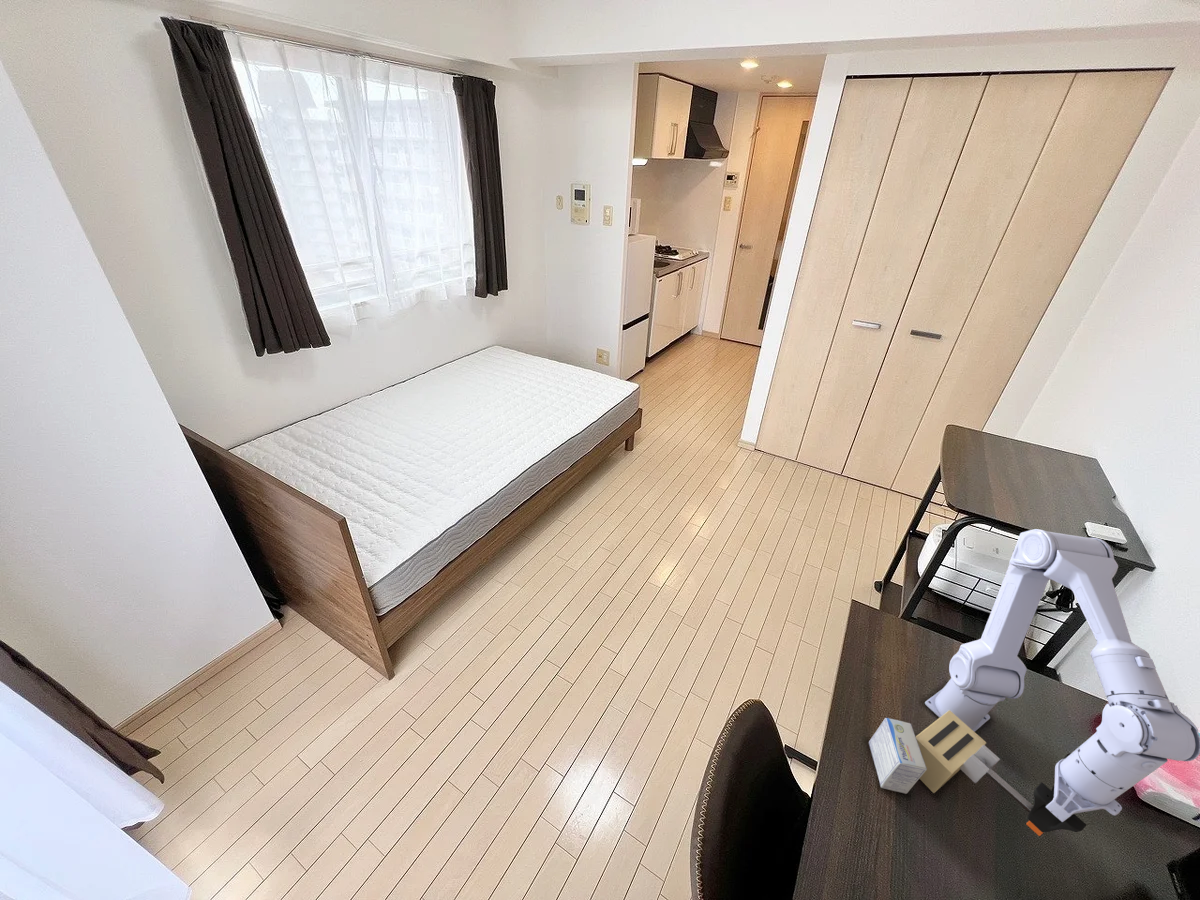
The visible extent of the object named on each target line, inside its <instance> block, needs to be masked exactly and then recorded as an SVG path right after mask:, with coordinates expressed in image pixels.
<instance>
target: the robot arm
mask: <svg viewBox="0 0 1200 900" xmlns="http://www.w3.org/2000/svg"><path fill="white" fill-rule="evenodd" d="M1118 568H1119V564H1118V563H1117V561H1116V560H1115V555H1114V552H1113V549H1112V547H1111V546H1110V544H1109V543H1107V542H1106V540H1104V539H1101V538H1098V537H1086V536H1080V535H1074V534H1067V533H1060V532H1054V531H1048V530H1044V529H1040V528H1034V529H1029V530H1026V531H1022V532H1020V533H1019V536H1018V539H1017V541H1016V544H1015V546H1014V549H1013V552H1012V553H1011V557H1010V559H1009V564H1008V567H1007V569H1006V572H1005V575H1004V577H1003V579H1002V582H1001V585H1000V588H999V590H998V593H997V595H996V598H995V601H994V603H993V606H992V608H991V611H990V613H989V616H988V618H987V621H986V624H985V626H984V630H983V631H982V633H981V637H980V638H978V639H976V640H972V641H969V642H966V643H962V644H961V645H960V646H959V648H958V651H957V652H956V653H954V655H952V657H951V659H950V661H949V665H948V666H949V667H948V671H949V676H950V679H949V680H948V682H947V683H946V684H945V685H944V686H943V688H942V689H940V690H939V691H938V692H936V693H934V695H933V696H931V697H930V698H928V699H927V700H925V702H924V704H925V705H924V706H926V707H927V708H928V709H929V710H930V711H931V712H933V713H934V714H935V715H936V716H937V717H938V718H940V717H941V716H942V715H944V714H945V713H946V712H947V711H949V710H950V711H951V712H952V713H953V714H955V715H956V716H957V717H958V718H959V719H960V720H961V721H963V722H964V723H965V724H966V725H967V726H968V727H969V728H970V729H972V730H973V731H974V732H975V733H976V731H977V730H978V729H980V728H981V727H982V726H983V725H984V724H985V723H987V722H988V721H989V720H990V719H991V716H990V715H989V712H990V711H991V710H992V709H993V708H994V707H995V706H996V705H997V704H998V703H999V702H1004V701H1005V700H1006V699H1011V700H1016V699H1017V700H1018V699H1019V698H1020V697H1021V696H1022V695H1023V692H1024V691H1025V675H1026V673H1027V671H1028V668H1027V666H1026V665H1025V664H1024V662H1023V660H1021V658H1020V657H1019V656H1018V655H1019V653H1020V650H1021V648H1022V645H1023V643H1024V641H1025V638H1026V636H1027V633H1028V631H1029V628H1030V626H1031V624H1032V621H1033V619H1034V616H1035V614H1036V612H1037V609H1038V606H1039V604H1040V602H1041V600H1042V597H1043V594H1044V592H1045V589H1046V587H1047V585H1048V582H1049V581H1050V580H1051V581H1054V582H1055V583H1058V584H1059V585H1061V586H1063V587H1065V588H1067V589H1069V590H1071V591H1072V593H1073V595H1074V597H1075V599H1076V601H1077V603H1078V606H1079V607H1080V610H1081V611H1082V614H1083V616H1084V618H1085V620H1086V621H1087V624H1088V626H1089V628H1090V630H1091V632H1092V635H1093V636H1094V638H1095V640H1096V644H1095V646H1094V647H1093V648H1092V650H1091V651H1090V656H1091V660H1092V661H1093V662H1092V663H1093V665H1094V667H1095V670H1096V673H1097V675H1098V679H1099V681H1100V683H1101V687H1102V689H1103V692H1104V694H1105V697H1106V700H1107V703H1106V704H1105V706H1103V707H1104V708H1103V710H1102V713H1101V722H1100V724H1099V725H1098V726H1097V727H1096V728H1095V730H1096V732H1095V733H1094V734H1092V735H1091V736H1090V737H1089V738H1088V739H1087V740H1086V741H1084V742H1082V744H1080V745H1079V746H1078V747H1077V748H1075V750H1073V751H1072V752H1071V753H1069V752H1068V753H1067V754H1066V755H1065V756H1064V757H1063V758H1062V759H1060V760H1058V761H1057V762H1056V763H1055V766H1054V783H1053V786H1052V788H1049V787H1048V786H1047V785H1046V784H1044V783H1043V782H1042V781H1041V782H1040V783H1039V784H1038V785H1037V786H1036V787H1035V788H1034V790H1033V794H1032V796H1033V798H1034V799H1033V804H1032V805H1033V807H1032V809H1031V811H1030V812H1028V815H1027V820H1028V821H1030V822H1032V823H1033V824H1034V825H1035V826H1036V827H1037V828H1038V829H1039V830H1040V831H1041V832H1044V833H1051V832H1054V831H1055V832H1056V831H1059V830H1060V831H1061V830H1065V831H1070V832H1072V833H1073V832H1074V833H1079V832H1082V831H1083V830H1084V829H1085V827H1086V826H1087V823H1085V821H1083V820H1082V819H1081V818H1080V817H1078V816H1077V815H1076V814H1081V813H1084V812H1085V813H1086V812H1092V811H1098V810H1105V811H1106V812H1108V813H1109V814H1110V815H1112V816H1117V815H1118V814H1120V812H1121V811H1122V810H1123V807H1122V805H1121V804H1120V803H1119V801H1117V800H1116V799H1117V798H1118V797H1120V796H1121V795H1123V794H1124V793H1125V792H1127V791H1128V790H1129V789H1131V788H1132V787H1134V786H1136V785H1137V784H1138V783H1140V782H1141V781H1142V780H1144V779H1145V778H1147V777H1148V776H1149V775H1151V774H1152V773H1153V772H1155V771H1156V770H1158V769H1159V768H1161V767H1162V766H1164V765H1165V764H1166V763H1168V761H1169V760H1173V761H1177V762H1191V761H1194V760H1196V759H1197V758H1198V757H1199V756H1200V736H1199V733H1200V732H1199V729H1198V727H1197V726H1196V725H1195V723H1194V722H1193V721H1192V719H1190V718H1189V717H1188V716H1186V715H1185V714H1184V713H1182V712H1181V710H1180V709H1179V707H1178V705H1175V702H1171V701H1170V699H1169V697H1168V694H1167V692H1166V689H1165V688H1164V685H1163V683H1162V681H1161V678H1160V676H1159V674H1158V671H1157V670H1156V668H1157V667H1156V665H1155V663H1154V661H1153V659H1152V657H1151V656H1150V653H1149V652H1148V651H1147V650H1145V649H1143V648H1141V647H1140V646H1138V645H1136V644H1135V643H1133V642H1132V639H1131V636H1130V632H1129V629H1128V625H1127V623H1126V620H1125V616H1124V613H1123V610H1122V607H1121V604H1120V600H1119V597H1118V594H1117V592H1116V591H1117V590H1116V589H1115V585H1114V582H1113V578H1114V577H1115V575H1116V574H1117V572H1118ZM1198 732H1199V733H1198Z"/></svg>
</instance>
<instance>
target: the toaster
mask: <svg viewBox="0 0 1200 900" xmlns="http://www.w3.org/2000/svg"><path fill="white" fill-rule="evenodd" d="M915 737H916V740H917V743H918V745H919V748H920V751H921V754H922V757H923V760H924V763H925V765H926V768H927V770H926V771H925V772H924V774H923V775H922V776H921V777H920V778H919V780H920V781H921V782H922V783H923V784H924V785H925V786H926V787H927V788H928V790H930V791H931V792H932V794H935V793H936V792H937V791H938V790H940V789H941V787H943V786H944V785H945V784H946V783H947V782H948V781H950V779H952V778H953V777H954V776H955V775H956V774H958V772H959V771H962V772H963V773H964V775H966V776H967V777H968V778H969V779H970V780H971V781H972V782H973V783H974V784H977V783H978V782H979V781H980V780H981V779H982V778H983V777H984V776H985V775H986V773H987V772H988V771H989V770H990V769H989V768H988V767H987V766H989V767H990V768H991V769H992V768H993V767H995V765H996V764H997V763H998V762H999V761H1001V758H999V757H998V756H997V755H996V754H995V753H994V752H993V751H991V749H990V748H989V747H987V746H986V744H987V742H986V741H985V739H983V738H982V737H981V736H980V735H979V734H977V733H976V731H975V732H974V731H973V730H972V729H970V728H969V727H968V726H967V725H966V724H965V723H964V722H963V721H961V720H960V719H959V718H958V717H957V716H956V715H955V714H953V713H952V712H951V711H950V710H949V711H947V712H946V713H945V714H944V715H942V716H941V717H938V718H937V719H936V720H935V721H933V722H932V723H931V724H930V725H928V726H927V727H926V728H924V729H923V730H922V731H921V732H920V733H918V734H917V735H915ZM979 757H981V758H983V759H985V760H986V762H987V764H986V765H987V766H986V765H984V764H983V763H982V762H981V761H980V760H979V759H978V758H979Z"/></svg>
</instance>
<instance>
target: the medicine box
mask: <svg viewBox="0 0 1200 900" xmlns="http://www.w3.org/2000/svg"><path fill="white" fill-rule="evenodd" d="M868 745H869V749H870V752H871V757H872V760H873V763H874V767H875V771H876V774H877V777H878V781H879V786H880V788H881V789H884V790H888V791H892V792H897V793H902V794H905V795H907V794H908V793H909V792H910V791H911V789H912V788H913V787H914V786H915V784H916V783H917V782H918V781H919V780H920V779H919V778H920V777H921V776H922V775H923V774H924V772H925V771H926V770H927V768H926V765H925V763H924V760H923V757H922V754H921V751H920V748H919V745H918V743H917V740H916V734H915V731H914V728H913V725H912V723H910V722H906V721H902V720H899V719H894V718H889V717H885V718H884V719H883V721H882V722H881V723H880V725H879V727H878V728H877V729H876V731H875V732H874V733H873V735H872V736H871V738H870V740H868Z"/></svg>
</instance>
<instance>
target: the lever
mask: <svg viewBox="0 0 1200 900" xmlns="http://www.w3.org/2000/svg"><path fill="white" fill-rule="evenodd" d="M978 759H979V760H980V761H981V762H982V763H983V764H984V765H986V764H987V762H986V760H985V759H983V758H981V757H979V758H978ZM986 766H987V765H986ZM987 767H988V768H989V769H990V770H989V771H988V772H987V773H986V774H985V775H986V776H987V777H988V778H989V779H990V780H992V782H993V783H994V784H996V785H997V786H998V787H999V788H1000V789H1001V790H1002V791H1004V792H1005V793H1006V794H1007V795H1008V796H1009V797H1010V798H1011V799H1013V800H1014V801H1015V802H1016V803H1017V804H1018V805H1020V807H1022V808H1023V809H1024V810H1025V811H1026V812H1027V813H1029V812H1030V811H1031V809H1032V807H1033V805H1034V804H1032V803H1031V802H1030V801H1029V800H1027V799H1026V798H1025V797H1024V796H1023V795H1022V794H1020V793H1019V792H1018V791H1017V790H1016V789H1015V788H1014V787H1013V786H1011V785H1010V784H1009V783H1008V782H1007V781H1006V780H1005V779H1003V777H1001V776H1000V775H999V774H998V773H997V772H995V771H994V770H993V769H992V768H990V767H989V766H987ZM1025 825H1026V826H1027V827H1029V829H1031V831H1033V833H1035V834H1036V835H1037V836H1038V837H1041V836H1042V835H1043V834H1044V833H1045V832H1041V831H1040V830H1039V829H1038V828H1037V827H1036V826H1035V825H1034V824H1033V823H1032V822H1030V821H1029V820H1028V821H1027V822H1026V824H1025Z"/></svg>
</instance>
